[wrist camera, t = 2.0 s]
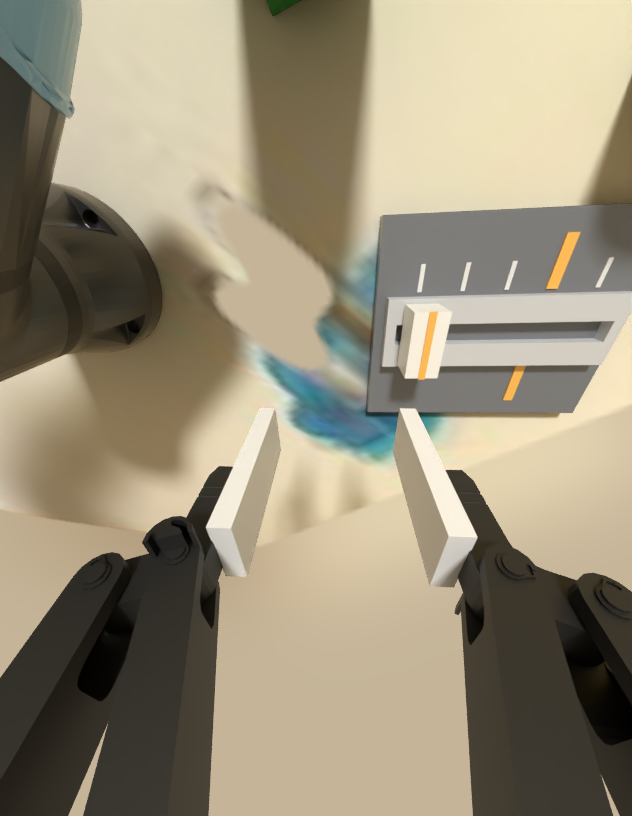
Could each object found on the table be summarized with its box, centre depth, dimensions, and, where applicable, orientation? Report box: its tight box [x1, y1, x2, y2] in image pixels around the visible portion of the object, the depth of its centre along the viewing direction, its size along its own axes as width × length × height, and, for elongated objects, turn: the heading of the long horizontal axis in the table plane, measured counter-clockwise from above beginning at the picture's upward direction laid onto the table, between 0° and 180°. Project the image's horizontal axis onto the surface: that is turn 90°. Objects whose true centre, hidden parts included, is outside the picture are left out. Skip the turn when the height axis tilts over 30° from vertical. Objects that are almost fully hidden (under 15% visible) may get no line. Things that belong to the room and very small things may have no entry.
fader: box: [398, 304, 452, 380], centre depth 25 cm, size 3×6×5 cm, turn 2°
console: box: [366, 203, 632, 413], centre depth 27 cm, size 24×20×3 cm
